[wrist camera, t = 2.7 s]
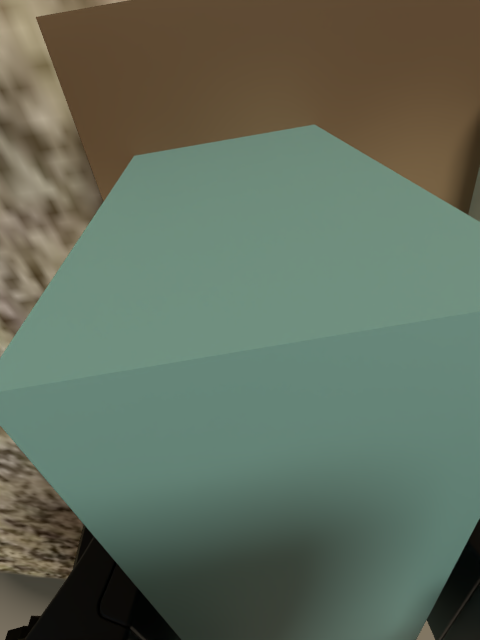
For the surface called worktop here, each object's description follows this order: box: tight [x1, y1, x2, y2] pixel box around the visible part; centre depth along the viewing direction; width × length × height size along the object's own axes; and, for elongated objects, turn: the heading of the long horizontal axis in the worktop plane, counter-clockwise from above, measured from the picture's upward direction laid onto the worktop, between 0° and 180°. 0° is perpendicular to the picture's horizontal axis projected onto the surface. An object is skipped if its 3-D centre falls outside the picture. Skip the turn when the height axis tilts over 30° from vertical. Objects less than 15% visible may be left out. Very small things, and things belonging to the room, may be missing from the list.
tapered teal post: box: [0, 125, 480, 640], centre depth 9 cm, size 12×4×7 cm, turn 8°
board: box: [36, 0, 480, 215], centre depth 13 cm, size 17×18×3 cm
